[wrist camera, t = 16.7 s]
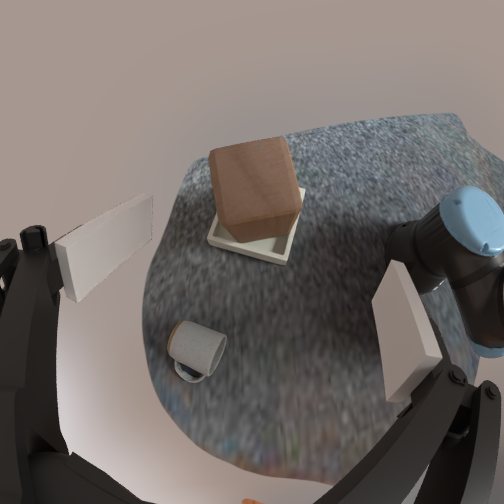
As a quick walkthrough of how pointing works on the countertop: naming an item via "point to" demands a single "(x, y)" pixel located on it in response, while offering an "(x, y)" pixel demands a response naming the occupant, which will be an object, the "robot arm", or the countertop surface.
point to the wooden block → (255, 189)
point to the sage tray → (254, 242)
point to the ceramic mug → (195, 349)
